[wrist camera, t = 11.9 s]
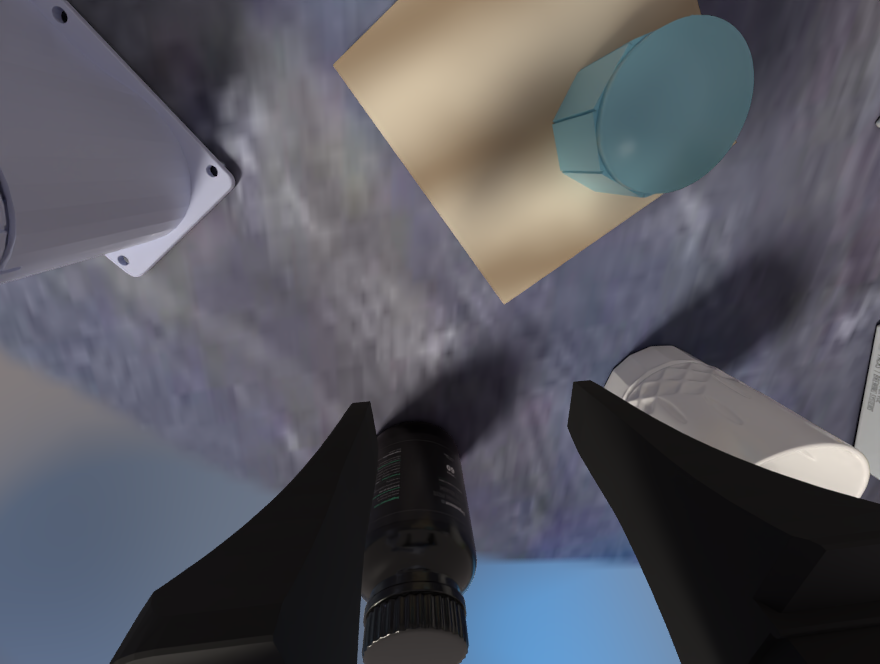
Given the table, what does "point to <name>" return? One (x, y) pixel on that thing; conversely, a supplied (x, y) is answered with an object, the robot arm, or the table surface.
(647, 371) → the white cup
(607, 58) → the cap
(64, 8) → the robot arm
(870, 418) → the tea box
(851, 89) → the table surface
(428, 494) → the supplement bottle
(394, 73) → the board
